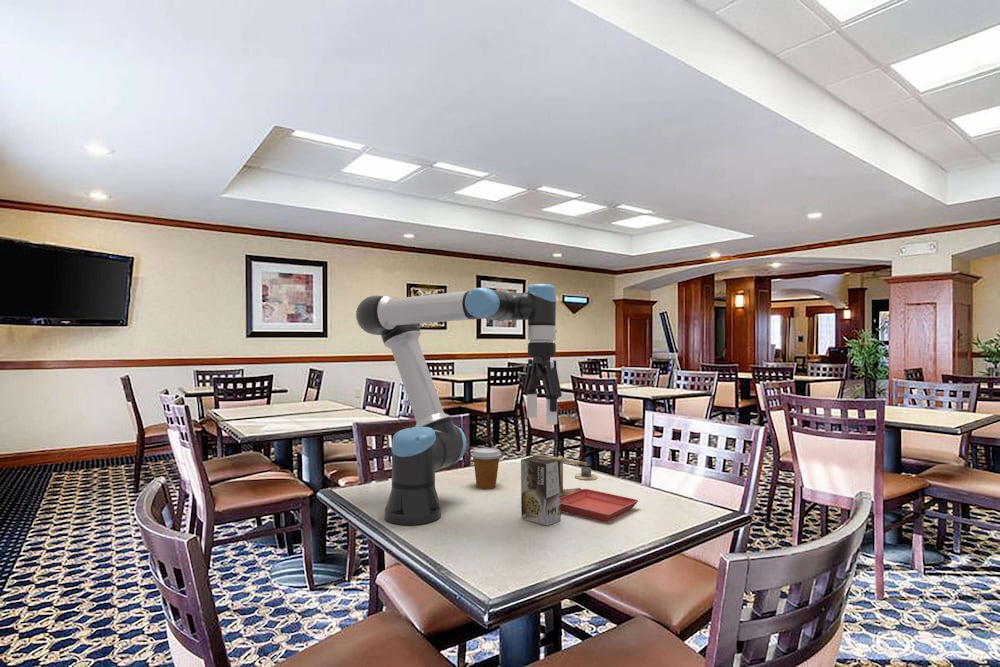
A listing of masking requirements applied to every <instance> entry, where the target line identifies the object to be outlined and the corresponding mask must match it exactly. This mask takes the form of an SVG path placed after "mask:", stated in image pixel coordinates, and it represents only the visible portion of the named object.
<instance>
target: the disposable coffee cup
mask: <svg viewBox="0 0 1000 667" xmlns="http://www.w3.org/2000/svg"><path fill="white" fill-rule="evenodd" d="M501 455H502V454H501V452H500V449H499V448H494V447H478V448H477V447H476V448H474V449H473V451H472V453H471V456H472V459H473V468H474V475H475V484H476V488H477V487H478V488H477V489H480V488H482V489H481V490H491V489H490V488H492V489H495V488H496V486H497V478H498V470H499V462H500V457H501ZM494 487H495V488H494Z"/></svg>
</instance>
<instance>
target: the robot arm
mask: <svg viewBox="0 0 1000 667" xmlns="http://www.w3.org/2000/svg"><path fill="white" fill-rule="evenodd" d="M556 296H557V295H556V288H555V286H554V285H552V284H549V283H535V284H530V285H528V287H527V291H526V292H525V291H524V292H505V291H499V290H495V289H490V288H488V287H476V288H474V289H472V290H463V291H455V292H445V293H435V294H424V295H416V296H415V295H413V296H406V297H393V296H391V295H370V296H366V298H364V299H362V300H361V302H360V303H359V304H358V306H357V307H356V308H357V309H356V310H355V311H356V312H355V318H356V321H357V325H358V326H359V327H360V328H361V329H362V330H363V331H364V332H365V333H367V334H370V335H374V336H380V337H381V339H382V342H383V346H384V347H386V348H388V349H390V350H391V353H392V355H393V358H394V362H395V365H396V367H397V370H398V372H399V375H400V379H401V382H402V384H403V387H404V390H405V393H406V395H407V399H408V402H409V405H410V407H411V410H412V414H413V416H414V419H415V422H416V423H415V426H412V427H407V428H403V429H401V430H398V431H397V432H395V434H393V437H392V443H391V446H390V450H391V490H390V492H389V497H388V500H387V502H386V504H385V505H386V506H385V509H384V519H385V520H386V521H387V522H389V523H391V524H395V525H401V526H416V525H424V524H430V523H433V522H436V521H437V520H439V519H440V518H441V517H442V504H441V502H440V499H439V496H438V492H437V489H436V471H439V470H442V469H444V468H448V467H451V466H453V465H455V464H456V463H458V462H459V461H460V460H462V458H463V457H464V455H465V453H466V451H467V446H468V445H467V438H466V435H465V433H464V431H463V430H462V428H460V427H458V425H455V424H454V422H453V420H452V419H453V418H452V416H451V415H449V414H447V413H445V411H444V409H443V406H442V403H441V401H440V398H439V394H438V393H437V389H436V386H435V383H434V381H433V378H432V375H431V373H430V369H429V367H428V364H427V362H426V358H425V356H424V353H423V350H422V347H421V345H420V342H419V339H420V336H421V334H422V333H421V330H420V329H421V324H428V323H429V324H432V323H440V322H441V323H442V322H453V321H455V322H456V321H466V320H483V319H489V320H491V321H500V322H504V321H527V340H528V341H529V342H528V343H527V356H529V357H533V358H528V359H527V369H526V373H525V374H526V375H525V380H524V384H523V385H524V386H523V391H524V392H525V394H526V418H527V419H531V418H532V419H534V418H535V419H537V417H538V390H537V389H538V386H539V384H540V381H541V380H542V382H543V385H544V389H545V392H546V397H545V400H546V406H545V407H546V409H545V411H546V415H545V416H546V417H545V418H546V419H545V421H546V423H545V424H546V425H547V426H549V425H558V399H559V398H561V397H562V396H563V395H562V389H561V384H560V383H561V382H560V379H559V374H558V370H557V368H558V367H557V359H556V360H555V359H554V360H552V359H551V358H552V357H555V356H556V348H557V345H556V342H555V340H556V336H557V335H556V333H557V332H558V331H557V329H556V328H557V327H556V325H557V324H556V320H557V319H556V317H557V312H556V311H557V298H556Z"/></svg>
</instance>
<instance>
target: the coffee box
mask: <svg viewBox="0 0 1000 667" xmlns="http://www.w3.org/2000/svg"><path fill="white" fill-rule="evenodd" d="M560 461H561V460H556V459H551V458H545V457H539V456H533V455H532V456H528V457H526V458H522V459H520V489H521V490H520V495H521V496H520V497H521V499H520V500H521V501H520V504H521V505H520V506H521V517H520V518H521V519H522V520H525V521H528V522H532V523H536V524H540V525H543V526H550V525H553V524H555V523H559V522H561V519H562V518H561V517H562V515H561V512H562V511H561V499H560V495H561V494H560V493H561V490H560Z"/></svg>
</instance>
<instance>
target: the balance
mask: <svg viewBox="0 0 1000 667" xmlns="http://www.w3.org/2000/svg"><path fill="white" fill-rule="evenodd" d="M533 456H539V457H545V458H551V459H556V460H561V461H560V490H561V493H560V494H561V495H560V497H563V496H566V495H569V494H571V493H574V492H577V491H580V490H582V488H581V487H575V488H574V487H573V488H564V463H568V464H573V465H574V464H575V465H580V466H581V465H582V467H581V468H580V470H581V471H580V473H575V475H574V479H576V480H579V481H585V482H587V481H589V482H590V481H597V480H598V475H597V474H594V473H592V468H591V467H588V462H587V461H586V462H585V461H579V460H573V459H567V458H565V457H564V456H562V455H558V456H556V457H555V456H551V455H544V454H538V453H533V454H532V457H533Z"/></svg>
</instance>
